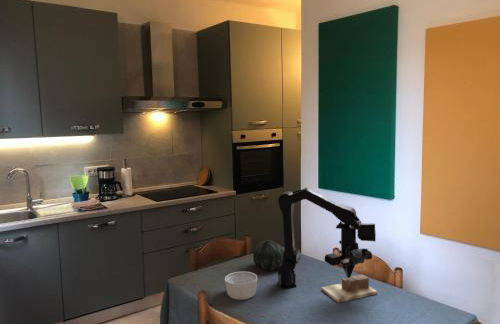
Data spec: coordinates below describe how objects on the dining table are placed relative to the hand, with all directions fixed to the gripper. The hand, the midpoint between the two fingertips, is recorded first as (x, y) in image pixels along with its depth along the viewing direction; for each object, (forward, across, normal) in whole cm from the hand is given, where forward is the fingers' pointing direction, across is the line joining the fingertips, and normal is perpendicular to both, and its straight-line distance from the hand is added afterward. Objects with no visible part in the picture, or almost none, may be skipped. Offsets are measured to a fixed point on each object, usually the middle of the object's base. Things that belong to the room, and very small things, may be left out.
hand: (348, 277), depth 161 cm
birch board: (+6, 0, 0) cm, 6 cm away
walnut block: (+3, -2, 0) cm, 3 cm away
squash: (+6, -19, +37) cm, 42 cm away
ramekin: (+6, -40, +16) cm, 43 cm away
